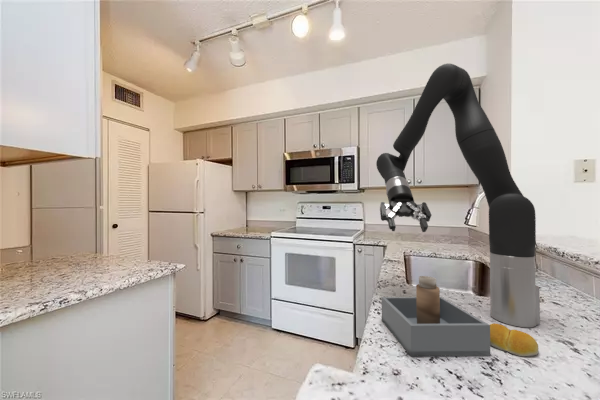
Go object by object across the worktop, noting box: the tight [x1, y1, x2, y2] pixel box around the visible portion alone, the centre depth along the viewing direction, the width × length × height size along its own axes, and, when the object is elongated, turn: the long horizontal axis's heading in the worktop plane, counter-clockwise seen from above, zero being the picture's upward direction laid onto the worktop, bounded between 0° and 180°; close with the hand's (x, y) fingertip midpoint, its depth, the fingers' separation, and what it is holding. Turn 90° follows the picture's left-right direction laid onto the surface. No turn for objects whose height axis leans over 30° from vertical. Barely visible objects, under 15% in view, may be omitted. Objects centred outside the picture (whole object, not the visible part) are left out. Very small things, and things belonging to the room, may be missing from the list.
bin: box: [381, 296, 491, 358], centre depth 58 cm, size 16×16×6 cm
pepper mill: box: [415, 275, 441, 324], centre depth 58 cm, size 5×5×12 cm
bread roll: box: [489, 323, 539, 357], centre depth 54 cm, size 8×9×4 cm
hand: (409, 229), depth 73 cm, fingers open, 8 cm apart
